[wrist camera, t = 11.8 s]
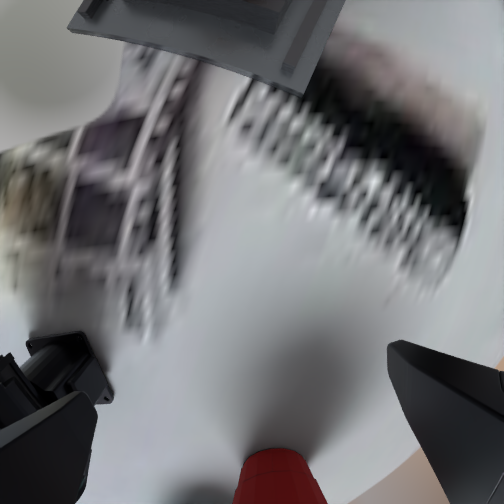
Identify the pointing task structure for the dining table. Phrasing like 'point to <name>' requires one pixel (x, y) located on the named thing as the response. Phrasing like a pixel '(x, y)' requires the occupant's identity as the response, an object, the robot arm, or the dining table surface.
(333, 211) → the dining table surface
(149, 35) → the gray square tray
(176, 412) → the dining table surface
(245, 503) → the plastic cup
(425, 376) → the robot arm
